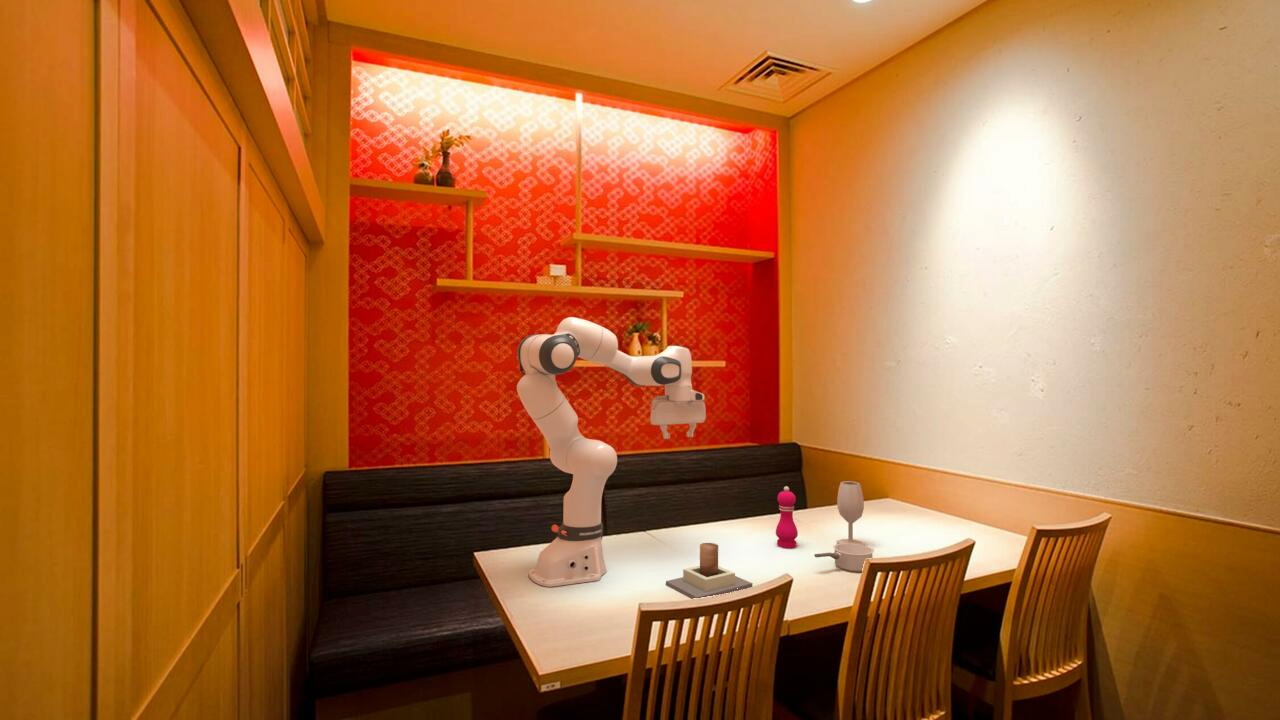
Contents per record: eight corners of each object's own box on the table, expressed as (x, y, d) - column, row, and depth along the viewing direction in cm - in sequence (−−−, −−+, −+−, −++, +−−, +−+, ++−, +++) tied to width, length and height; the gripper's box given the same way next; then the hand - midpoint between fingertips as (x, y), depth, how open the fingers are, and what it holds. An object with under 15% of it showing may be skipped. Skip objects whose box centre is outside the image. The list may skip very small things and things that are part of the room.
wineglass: (831, 542, 203) (831, 481, 204) (853, 540, 206) (852, 480, 206) (847, 550, 195) (847, 486, 195) (870, 547, 198) (869, 484, 198)
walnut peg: (707, 586, 159) (707, 549, 159) (696, 581, 163) (696, 544, 163) (722, 583, 161) (722, 546, 161) (710, 577, 165) (710, 541, 166)
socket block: (697, 601, 151) (697, 585, 151) (665, 584, 163) (665, 570, 163) (752, 586, 161) (752, 572, 161) (718, 572, 173) (718, 558, 173)
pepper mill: (798, 549, 195) (798, 488, 196) (775, 548, 197) (775, 488, 197) (797, 543, 202) (796, 484, 203) (775, 542, 204) (775, 484, 204)
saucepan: (802, 567, 178) (802, 549, 178) (854, 559, 186) (854, 541, 186) (829, 580, 167) (829, 560, 167) (882, 570, 175) (882, 551, 175)
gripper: (657, 396, 185) (657, 440, 185) (708, 395, 196) (708, 436, 196) (646, 395, 190) (646, 438, 190) (696, 394, 202) (696, 435, 201)
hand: (678, 437), depth 193 cm, fingers open, 8 cm apart
